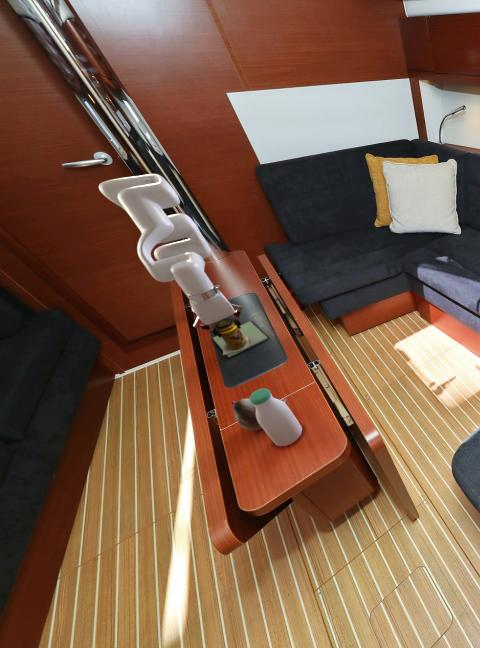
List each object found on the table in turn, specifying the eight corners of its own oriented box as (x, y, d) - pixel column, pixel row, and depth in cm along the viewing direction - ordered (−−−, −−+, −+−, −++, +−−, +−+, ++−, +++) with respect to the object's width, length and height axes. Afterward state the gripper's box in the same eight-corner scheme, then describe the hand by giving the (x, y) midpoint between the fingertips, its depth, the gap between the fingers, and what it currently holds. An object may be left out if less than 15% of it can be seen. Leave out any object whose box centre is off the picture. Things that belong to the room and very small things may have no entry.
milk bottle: (308, 428, 102) (281, 387, 90) (287, 450, 96) (256, 409, 84) (289, 421, 104) (261, 380, 92) (268, 442, 98) (234, 401, 86)
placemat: (213, 338, 135) (212, 337, 135) (250, 322, 144) (250, 320, 144) (229, 358, 126) (228, 356, 126) (268, 338, 135) (267, 337, 135)
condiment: (249, 347, 130) (234, 324, 123) (223, 355, 126) (206, 332, 119) (248, 337, 135) (233, 314, 128) (223, 345, 131) (206, 322, 124)
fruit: (240, 421, 104) (220, 398, 97) (272, 403, 110) (255, 379, 102) (250, 441, 98) (229, 418, 91) (283, 421, 104) (266, 397, 97)
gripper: (227, 280, 124) (250, 317, 134) (169, 301, 113) (199, 339, 123) (234, 286, 120) (257, 324, 131) (175, 308, 109) (205, 347, 120)
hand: (229, 331), depth 127 cm, fingers closed on condiment, 6 cm apart
